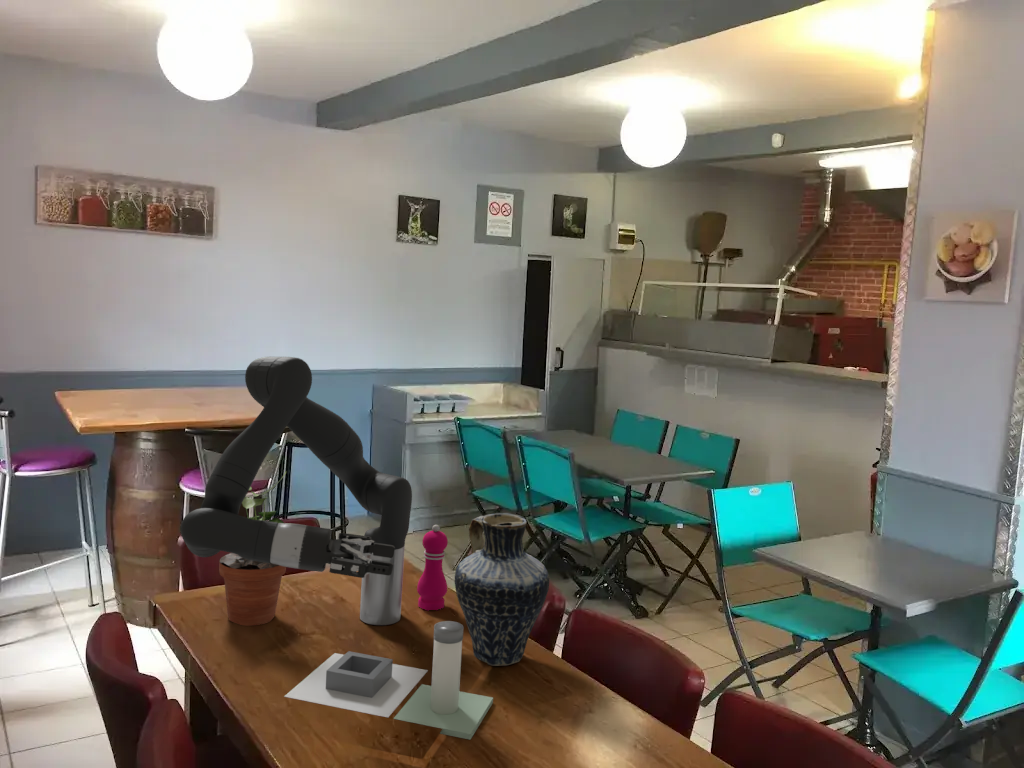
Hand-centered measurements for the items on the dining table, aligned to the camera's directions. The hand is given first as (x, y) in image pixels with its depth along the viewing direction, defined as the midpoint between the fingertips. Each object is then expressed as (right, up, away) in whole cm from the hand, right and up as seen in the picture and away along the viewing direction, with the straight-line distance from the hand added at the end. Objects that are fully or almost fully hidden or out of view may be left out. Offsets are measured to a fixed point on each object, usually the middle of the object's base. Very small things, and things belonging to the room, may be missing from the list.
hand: (393, 560), depth 149 cm
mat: (+9, -28, +1) cm, 29 cm away
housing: (-8, -26, +8) cm, 28 cm away
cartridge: (+9, -27, +1) cm, 28 cm away
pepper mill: (+2, -22, +52) cm, 57 cm away
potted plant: (-38, -21, +39) cm, 58 cm away
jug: (+17, -26, +26) cm, 41 cm away
